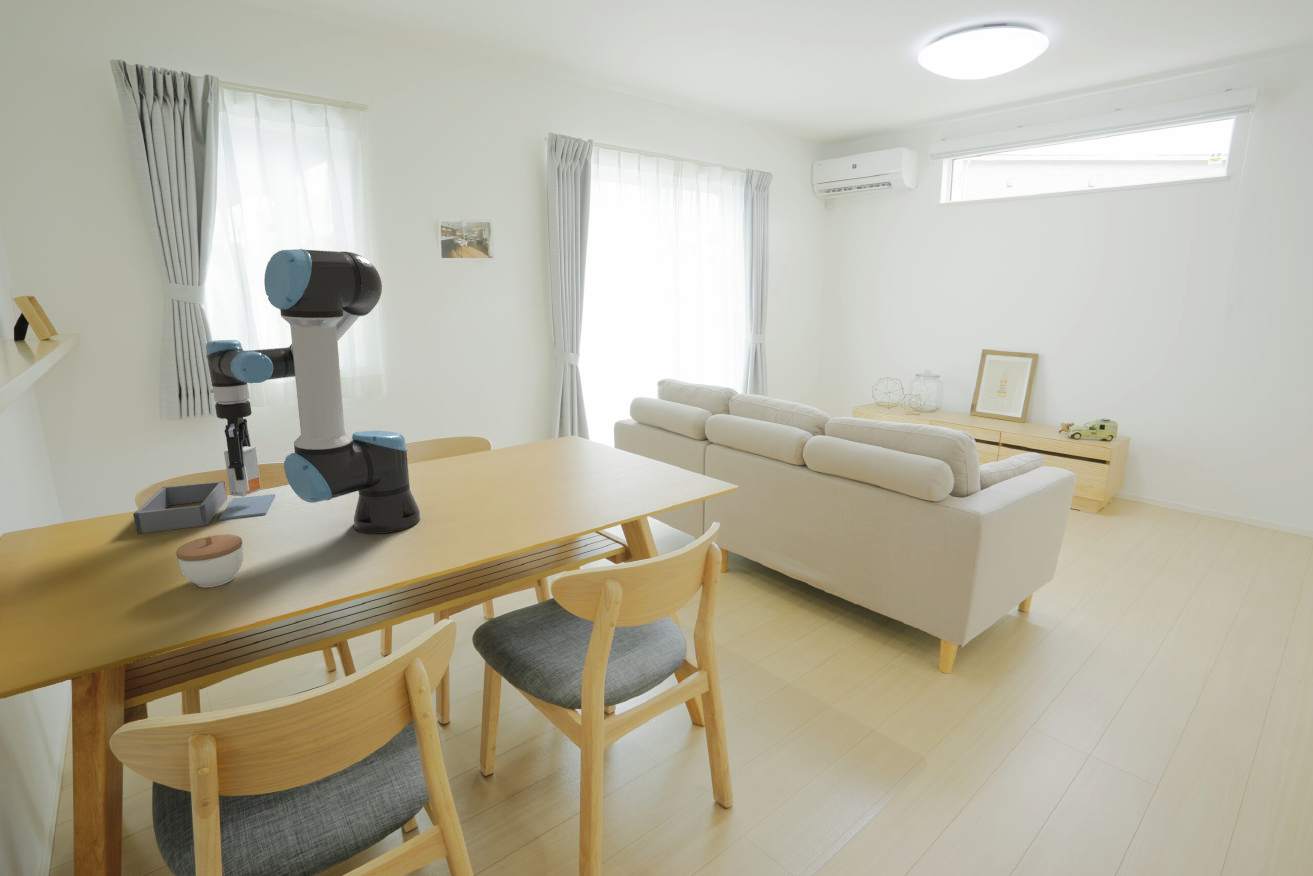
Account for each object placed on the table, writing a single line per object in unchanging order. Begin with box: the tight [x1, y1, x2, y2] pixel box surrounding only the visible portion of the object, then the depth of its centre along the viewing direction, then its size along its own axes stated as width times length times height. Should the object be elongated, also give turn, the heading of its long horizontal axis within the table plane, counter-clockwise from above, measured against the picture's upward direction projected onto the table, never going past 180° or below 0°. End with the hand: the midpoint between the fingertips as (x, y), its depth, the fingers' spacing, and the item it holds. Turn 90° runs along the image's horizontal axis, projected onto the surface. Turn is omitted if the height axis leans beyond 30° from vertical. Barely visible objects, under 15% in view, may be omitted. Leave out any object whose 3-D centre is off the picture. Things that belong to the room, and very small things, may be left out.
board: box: [219, 493, 276, 521], centre depth 167 cm, size 16×10×1 cm, turn 23°
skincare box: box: [223, 446, 262, 497], centre depth 165 cm, size 6×4×12 cm
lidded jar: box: [175, 534, 244, 589], centre depth 125 cm, size 11×11×9 cm
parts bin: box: [133, 480, 228, 535], centre depth 161 cm, size 22×14×5 cm, turn 23°
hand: (245, 486), depth 166 cm, fingers closed on skincare box, 7 cm apart
